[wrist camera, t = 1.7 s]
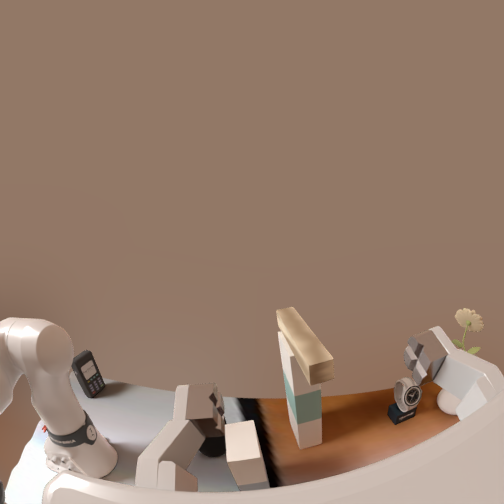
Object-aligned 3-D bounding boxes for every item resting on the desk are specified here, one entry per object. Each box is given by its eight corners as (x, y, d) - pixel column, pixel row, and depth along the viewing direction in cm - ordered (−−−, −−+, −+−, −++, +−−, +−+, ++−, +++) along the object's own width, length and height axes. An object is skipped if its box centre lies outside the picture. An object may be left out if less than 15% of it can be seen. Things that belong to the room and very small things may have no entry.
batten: (310, 385, 33) (308, 365, 32) (278, 325, 55) (276, 310, 54) (334, 378, 33) (333, 358, 33) (294, 322, 55) (292, 306, 54)
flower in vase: (482, 405, 37) (509, 313, 33) (449, 425, 37) (477, 331, 33) (456, 381, 50) (472, 296, 46) (425, 396, 50) (439, 308, 46)
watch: (398, 429, 43) (406, 396, 41) (384, 410, 51) (389, 376, 49) (418, 420, 43) (427, 386, 41) (403, 402, 51) (409, 368, 49)
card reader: (92, 399, 68) (74, 362, 66) (85, 397, 69) (67, 360, 67) (107, 386, 77) (91, 350, 74) (99, 384, 78) (84, 349, 75)
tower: (299, 449, 46) (289, 356, 42) (289, 421, 56) (277, 332, 52) (321, 443, 46) (318, 349, 42) (309, 416, 56) (302, 326, 52)
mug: (226, 430, 55) (216, 402, 54) (239, 453, 47) (230, 425, 46) (180, 444, 51) (166, 416, 49) (189, 469, 42) (174, 442, 41)
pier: (245, 503, 33) (226, 462, 30) (241, 471, 42) (224, 424, 39) (272, 498, 33) (260, 457, 31) (265, 467, 42) (253, 420, 40)
